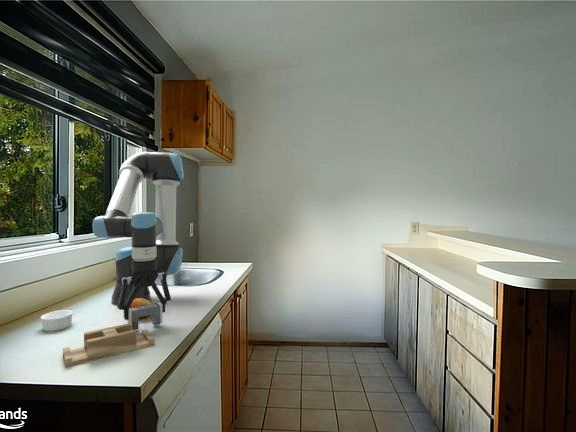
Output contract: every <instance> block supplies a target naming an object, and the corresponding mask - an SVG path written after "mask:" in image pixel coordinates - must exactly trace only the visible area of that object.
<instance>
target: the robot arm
mask: <svg viewBox="0 0 576 432" xmlns="http://www.w3.org/2000/svg"><path fill="white" fill-rule="evenodd" d="M182 161H183V160H182V157H181V155H180V154H179V153H176V152H175V153H174V152H169V151H168V152H154V151H153V152H152V151H142V152H138V153H135V154H133V155H131V156H130V157H129V158H127V159H126V160H125V161H124V162H123V163H122V164H121V166H120V169H119V171H118V175H119V179H118V181H117V184H116V185H115V188H114V191H113V194H112V195H111V199H110V201H109V204H108V206H107V209H106V210H105V211H106V212H105V213H104V215H100V216H95V218H93V220H92V233H93V234H94V236H95V237H96V238H102V239H103V238H105V239H111V238H112V239H115V238H116V239H117V238H131V246H126V247H123V248H119V249H118V250H117V251H116V252H115V260H114V261H115V281H116V282H115V286H114V289H113V292H112V295H111V304H113V305H116V306H117V308H118V310H121V311H123V319H124V320H125V321H127V323H126V324H128V323H130V325H131V330H132V310H131V309H130V306H131V304H132V302H133V300H134V299H136V298H144V299H147V300H148V301H149V300H150V299H151V292H150V288H149V287H151V288H152V289H153V291H154V294H155V296H156V297H157V299H158V300H159V302H157V303H158V304H159V305H160V324H163V322H164V321H163V320H164V317H163V316H164V315H163V313H165V312H166V304H167V302H169V301H171V299H172V298H171V294H170V289H169V285H168V281H167V277H168V276H170V275H171V276H175V275H178V273H180V270H181V266H182V262H183V254H184V253H183V252H184V249H183V248H182V247H180V244H179V242H178V241H177V240H176V239H177V238H176V237H177V235H176V233H177V232H176V231H177V229H176V228H177V226H176V225H177V188H178V186H179V185H180V184H181V180H184V179H185V176H184V175H185V174H184V165H183V162H182ZM145 179H148V180H152V183H153V184H154V186H155V206H154V207H155V210H154V211H155V212H151V211H149V212H147V211H145V212H144V211H141V212H138V211H137V212H133V213H132V214H131V216H129V215H130V213H131V209H132V206H133V203H134V200H135V197H136V194H137V191H138V188H139V185H140V184H141V183H142V182H143V180H145ZM157 278H158V279H159V280H160V282H161V283H160V284H161V287H162V291H163V294H162V292H161V291H160V288H159V287H158V286H157V284H156V281H157ZM163 295H164V296H163Z"/></svg>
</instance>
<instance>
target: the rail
mask: <svg viewBox="0 0 576 432" xmlns="http://www.w3.org/2000/svg"><path fill="white" fill-rule="evenodd" d="M151 346H155V338H154V336H153V335H152V334H151V333H150V332H149V331H148V330H147V329H144V330H141V334H137V331H136V330H131V325H130V323H128V324H127V323H125V324H119V325H115V326H110V327H105V328H99V329H95V330H90V331H84V332H83V347H79V348H78V347H77V348H75V349H74V348H73V349H71V348H70V346H67V347H63V348H62V356H63V363H64V367H65V368H67V367H72V366H74V365H80V364H83V363H87V362H91V361H95V360H100V359H103V358H108V357H112V356H115V355H119V354H124V353H127V352H131V351H135V350H139V349H144V348H146V347H151Z"/></svg>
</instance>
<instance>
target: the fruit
mask: <svg viewBox="0 0 576 432" xmlns="http://www.w3.org/2000/svg"><path fill="white" fill-rule="evenodd" d="M151 304H152V302H151V301H149V300H147V299H144V298H136V299H134V300H133V302H132V304H131V306H130V308H135V307H140V306H146V305H151ZM149 316H150V315H147V316H142V317H138V319H147V318H148V317H149Z"/></svg>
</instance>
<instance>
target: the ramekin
mask: <svg viewBox="0 0 576 432" xmlns="http://www.w3.org/2000/svg"><path fill="white" fill-rule="evenodd" d="M40 320H41V326H42V329H43V331H46V332H53V331H54V332H55V330H56V331H60V330H64V329H67V328H69V327H70V326H71V325H72V321H73V311H72V310H69V309H65V310H64V309H62V310H61V309H60V310H53V311H51V312H48V313H44V314H42V315H41V316H40Z"/></svg>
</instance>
